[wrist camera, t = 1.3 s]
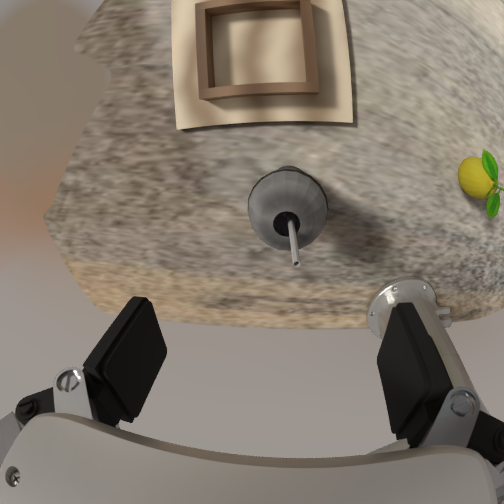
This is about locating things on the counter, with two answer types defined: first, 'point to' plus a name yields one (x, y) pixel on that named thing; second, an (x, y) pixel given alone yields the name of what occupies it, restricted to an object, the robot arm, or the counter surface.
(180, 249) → the counter surface
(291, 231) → the beverage cup
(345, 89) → the cup holder
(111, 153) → the counter surface
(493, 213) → the lemon
